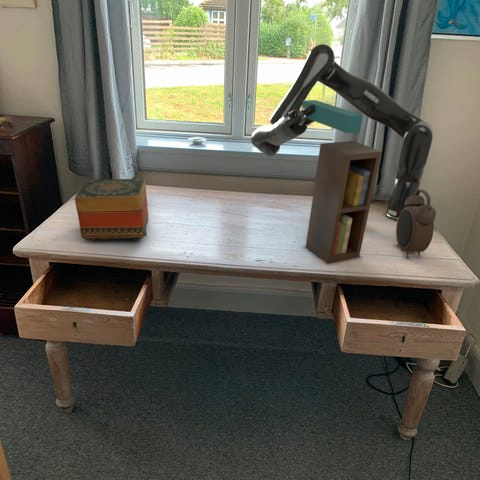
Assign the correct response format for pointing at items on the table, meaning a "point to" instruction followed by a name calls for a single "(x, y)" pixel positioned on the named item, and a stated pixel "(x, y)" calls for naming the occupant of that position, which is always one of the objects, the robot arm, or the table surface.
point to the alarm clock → (415, 224)
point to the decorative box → (112, 209)
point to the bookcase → (341, 199)
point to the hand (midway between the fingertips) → (321, 107)
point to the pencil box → (334, 116)
